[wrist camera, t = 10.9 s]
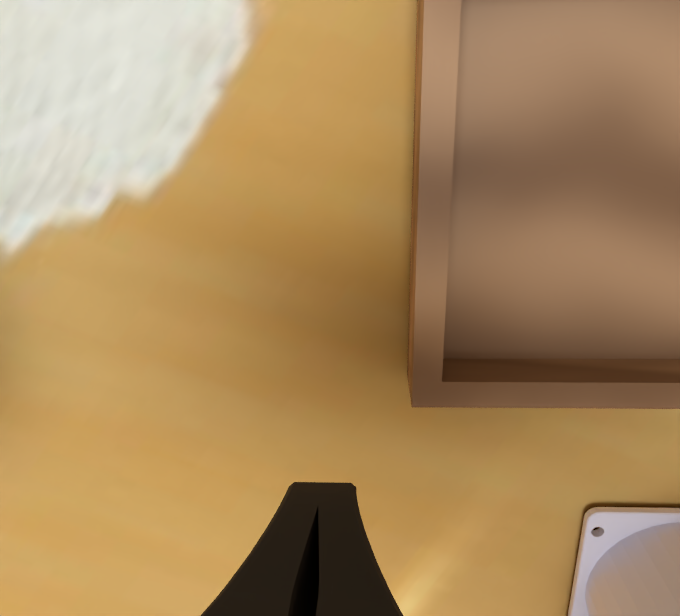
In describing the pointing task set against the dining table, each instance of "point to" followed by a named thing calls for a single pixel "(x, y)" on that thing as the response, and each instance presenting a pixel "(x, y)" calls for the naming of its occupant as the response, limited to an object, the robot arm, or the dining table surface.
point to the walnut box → (546, 205)
